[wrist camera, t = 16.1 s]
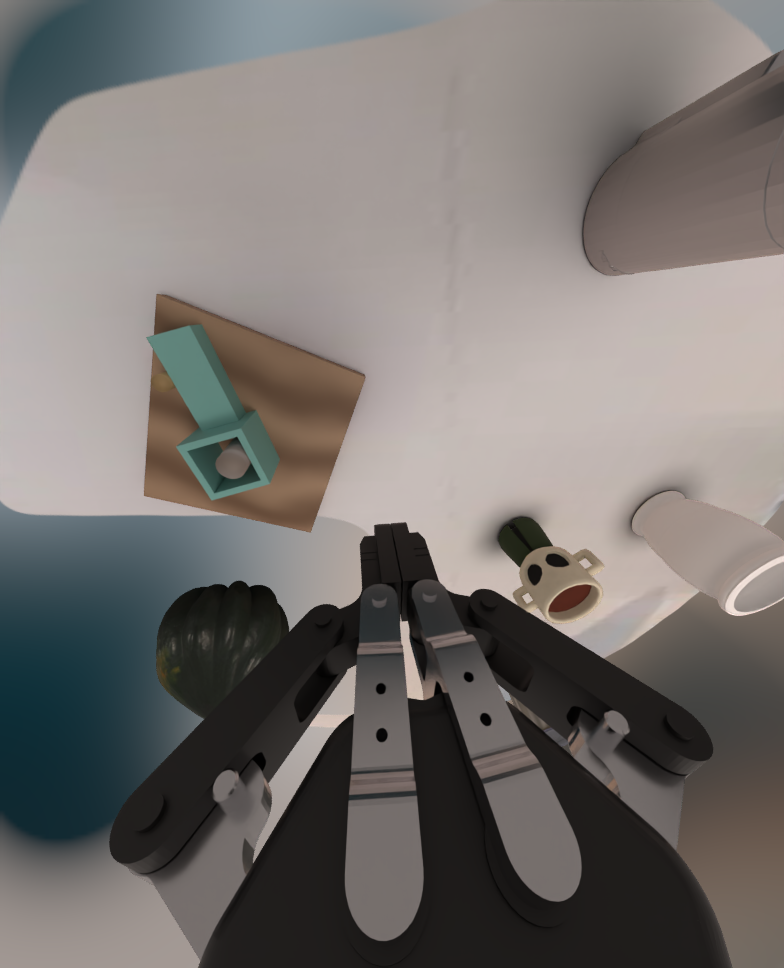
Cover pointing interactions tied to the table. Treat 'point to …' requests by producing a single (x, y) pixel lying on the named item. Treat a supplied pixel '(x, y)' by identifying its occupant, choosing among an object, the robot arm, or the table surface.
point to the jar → (715, 551)
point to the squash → (216, 641)
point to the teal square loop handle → (213, 413)
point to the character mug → (551, 574)
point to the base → (281, 407)
